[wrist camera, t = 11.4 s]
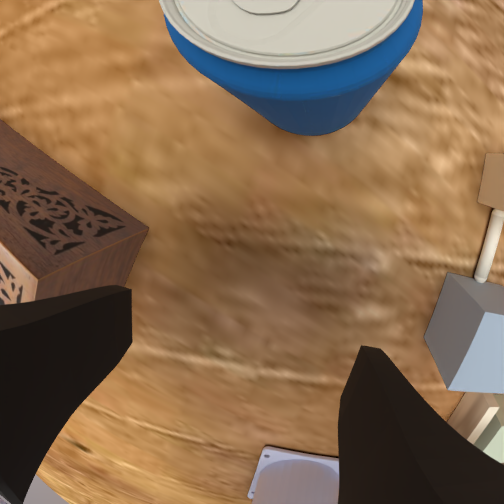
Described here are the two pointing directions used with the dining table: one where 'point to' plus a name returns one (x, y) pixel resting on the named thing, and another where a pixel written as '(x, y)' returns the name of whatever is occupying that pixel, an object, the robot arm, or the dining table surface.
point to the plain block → (494, 433)
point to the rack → (473, 414)
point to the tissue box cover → (57, 228)
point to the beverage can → (296, 53)
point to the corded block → (474, 307)
